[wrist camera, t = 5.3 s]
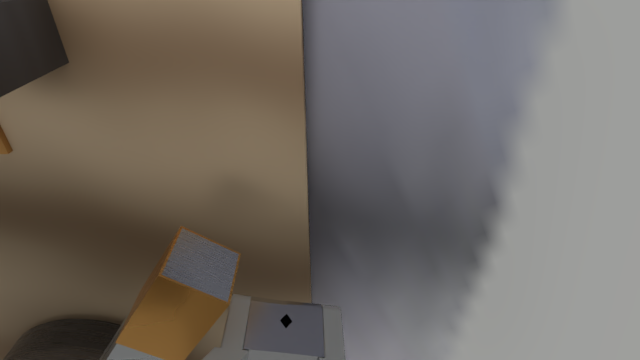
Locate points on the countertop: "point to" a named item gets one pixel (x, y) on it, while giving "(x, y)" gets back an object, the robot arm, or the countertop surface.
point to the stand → (147, 151)
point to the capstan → (149, 311)
